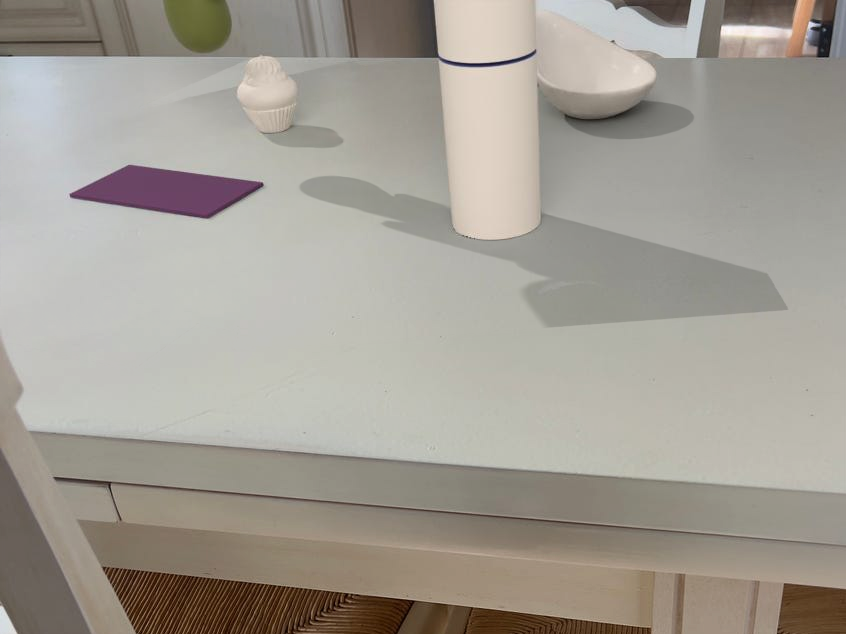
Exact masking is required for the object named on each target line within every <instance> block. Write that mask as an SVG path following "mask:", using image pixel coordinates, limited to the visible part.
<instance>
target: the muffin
mask: <svg viewBox="0 0 846 634" xmlns="http://www.w3.org/2000/svg"><path fill="white" fill-rule="evenodd" d="M244 71H245V75H244V77H243V79H242V82H241V83H240V84H239V86H238V88H237V90H236V97H237V101H238V102H239V103H240V105H241V106H242V110H243V111H244V113H245V114H246V116H247V117H248V118H249V119H250V120H251V122H252V124H253V125H254V126H255V127H256V129H257V130H258V131H259V132H260V133H263V134H275V133H281V132H284V131H287V130H288V129H290V127H291V124H292V121H293V118H294V115H295V112H296V108H297V104H298V99H297V98H298V95H299V94H298V93H299V87H298V85H297V83H296V81H295V80H294V79H293V78H292V77H290V76H289V75H287V72H285V71H284V70H283V67H282V63H281V62H280V60H278V59H277V58H276V57H274V56H271V55H262V54H260V55H259V56H256V57H254V58H253V57H252V58H251V59H250V60H249V61H247V62H246V64H245V68H244Z"/></svg>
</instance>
